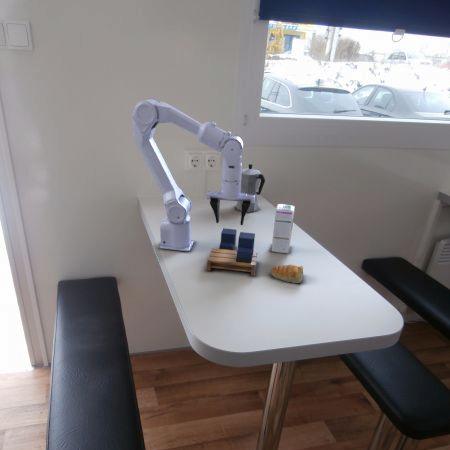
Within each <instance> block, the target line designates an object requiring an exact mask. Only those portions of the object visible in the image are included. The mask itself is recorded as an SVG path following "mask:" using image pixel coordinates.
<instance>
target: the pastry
mask: <svg viewBox="0 0 450 450" xmlns="http://www.w3.org/2000/svg"><path fill="white" fill-rule="evenodd" d="M270 274H271V276H272V277H274V278H275V279H277V280H281V281H283V282H287V283H293V284H301V283H302V281H303V277H304V266H302V265H300V266H299V265H294V264H288V265H286V264H285V265H276V266H274V267H272V268H271V270H270Z"/></svg>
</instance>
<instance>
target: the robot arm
mask: <svg viewBox="0 0 450 450" xmlns="http://www.w3.org/2000/svg"><path fill="white" fill-rule="evenodd" d="M131 119H132V136H133V137H132V138H133V141H134V144H135V146H136V147H137V149H138V151H139V152H140V154H141V157H142V158H143V160H144V162H145V164H146V166H147V169H148V170H149V171H150V174H151V175H152V177H153V179H154V181H155V183H156V185H157V187H158V189H159V190H160V192H161V194H162V200H163V205H164V207H165V210H166V211H165V212H166V213H165V214H166V217H163V218H162V219H161V221H160V227H159V232H160V233H159V234H160V235H159V237H160V246H159V248H160V249H163V250H172V251H180V252H181V251H182V252H190V250H191V248H192V246H193V244H194V242H195V241H194V240H192V239H191V238H192V237H191V233H192V230H191V225H192V222H191V221H192V218H191V217H190V214H189V213H190V211H191V210H192V201H191V199H190V198H189V197H188V196H186V195H185V193H184V191H183V190H182V189H181V188H180V187H179V186H178V184H177V183H176V181H175V179H174V177H173V175H172V173H171V171H170V169H169V167H168V165H167V163H166V161H165V159H164V157H163V155H162V152H161V151H160V149H159V147H158V146H157V145H158V144H157V143H156V141H155V139H154V135H155V131H156V128H157V126H158V124H167V123H171V124H173V125H176V127H177V126H178V127H180V128H182V129H183V130H186V131H187V132H190V133H192V134H194V135H196V137H197V139H198V141H199V142H200V143H201V144H204V145H205V146H207V147H209V148H210V149H212V150H215V151H216V152H219V153H220V152H221V154H222V156H223V159H222V160H223V161H222V169H221V170H222V171H221V191H209V190H208V191H207V192H206V200H209V205H210V207H211V209H212V212H213V214H214V218H215V223H216V224H219V223H220V217H221V216H220V207H221V201H229V202H231V201H232V202H237V201H242V202H243V203H242V206H241V207H242V210H241V213H240V224H239V225H240V226H244V220H245V217H246V215H247V213H248V212H247V210H248V209H249V207H250V204H251V203H254V202H255V195H249V194H244V193H240V192H241V174H242V169H243V164H242V161H243V156H242V155H243V152H244V142H243V139H242V138H241V137H240V136H238V135H237V134H234V133H233V134H232V132H231V131H229V130H228V131H226V130H224V129H222V128H220V127H219V126H217V123H216V122H214V121H212V122H209V121H207V122H204V123H201V122H199V121H197V120H196V119H195V118H193V117H191V116H189V115H187V114H186V113H185V112H182V111H181V110H179V109H178V108H176V107H174V106H173V105H170V104H169V103H167V102H165V101H161V100H159V99H158V98H155V97H150V98H147V99H145V100H140V101H139V102H137V103H136V105H135V106H134V109H133V111H132V114H131Z"/></svg>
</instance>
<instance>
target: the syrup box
mask: <svg viewBox="0 0 450 450" xmlns="http://www.w3.org/2000/svg"><path fill="white" fill-rule="evenodd" d="M295 210H296V209H295V205H292V204H288V203H287V204H286V203H285V204H284V203H277V205H276V207H275V213H274V214H275V215H274V222H273V223H274V224H273V231H272V241H271V252H276V253H282V254H289V252H290V248H291V241H292V233H293V226H294V217H295Z"/></svg>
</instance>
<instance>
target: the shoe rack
mask: <svg viewBox="0 0 450 450" xmlns="http://www.w3.org/2000/svg"><path fill="white" fill-rule="evenodd" d="M236 257H237V250H235V251H234V250H225V249H220V248H215V247H212V248H211V251H210V253H209V255H208V257H207V260H206V272H211V271H212V268H213V269H219V270H220V269H222V270H230V271H239V272H247V273H248V272H249V273H250V277H255V274H256V270H257V269H256V268H257V262H258V252H253V257H252V262H251V263H243V262H236Z"/></svg>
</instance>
